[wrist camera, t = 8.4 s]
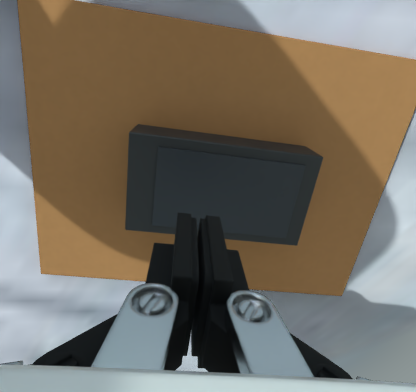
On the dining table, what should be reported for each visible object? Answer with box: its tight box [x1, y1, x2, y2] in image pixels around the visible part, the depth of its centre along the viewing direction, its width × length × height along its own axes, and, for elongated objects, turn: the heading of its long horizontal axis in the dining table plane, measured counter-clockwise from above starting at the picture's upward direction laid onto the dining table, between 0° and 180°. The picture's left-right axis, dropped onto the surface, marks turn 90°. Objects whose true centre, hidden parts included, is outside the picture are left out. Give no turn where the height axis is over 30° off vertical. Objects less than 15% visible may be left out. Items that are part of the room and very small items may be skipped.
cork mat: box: [17, 0, 416, 296], centre depth 20 cm, size 24×18×1 cm
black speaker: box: [125, 124, 323, 246], centre depth 18 cm, size 3×6×11 cm
